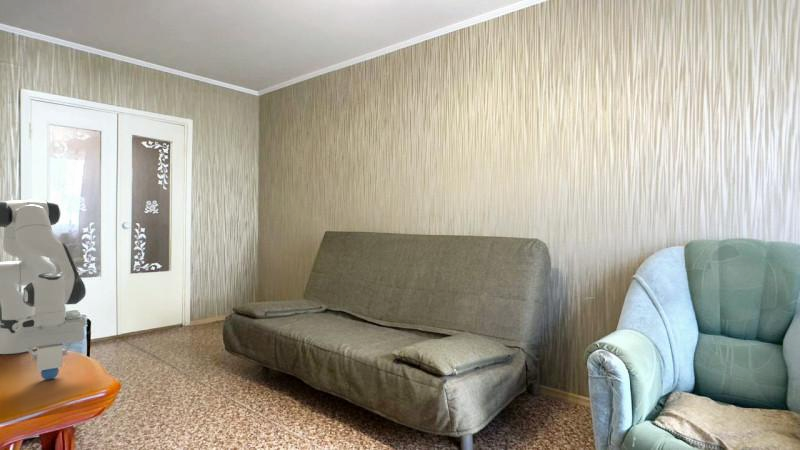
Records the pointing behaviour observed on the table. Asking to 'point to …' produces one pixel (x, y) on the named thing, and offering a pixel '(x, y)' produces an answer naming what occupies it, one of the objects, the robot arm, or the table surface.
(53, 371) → the ball
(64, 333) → the robot arm
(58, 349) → the matte ivory cube
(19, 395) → the table surface
